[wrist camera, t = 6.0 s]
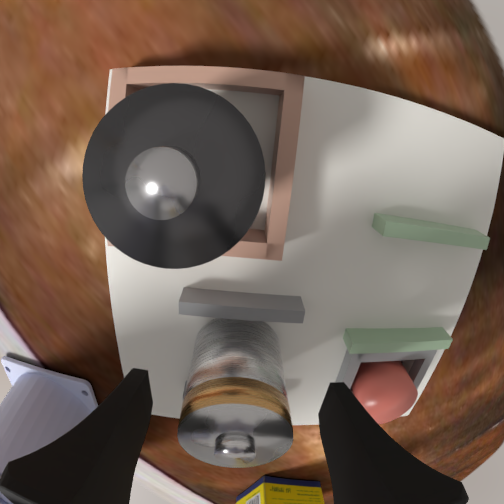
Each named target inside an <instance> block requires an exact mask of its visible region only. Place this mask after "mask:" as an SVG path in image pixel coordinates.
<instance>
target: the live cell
mask: <svg viewBox="0 0 504 504" xmlns="http://www.w3.org/2000/svg"><path fill="white" fill-rule="evenodd" d="M178 441H179V443H180V445H181V446H182V447H183V449H184V450H185V451H186V452H188V453H189V454H190V455H192V456H193V457H195V458H197V459H199V460H201V461H203V462H206V463H209V464H213V465H217V466H222V467H232V468H243V467H253V466H258V465H262V464H266V463H269V462H271V461H273V460H276V459H277V458H279V457H281V456H282V455H283V454H285V453H286V452H287V451H288V450H289V448H290V447H291V445H292V442H293V427H292V421H291V414H290V407H289V403H288V397H287V391H286V384H285V377H284V371H283V364H282V358H281V351H280V345H279V340H278V337H277V335H276V333H275V331H274V330H273V329H272V328H271V327H270V326H269V325H268V324H267V323H265V322H264V321H250V320H236V319H224V318H215V319H212V320H211V321H209V322H208V323H206V324H205V325H204V326H203V327H202V328H201V329H200V331H199V332H198V334H197V337H196V340H195V345H194V350H193V355H192V360H191V365H190V370H189V375H188V380H187V385H186V390H185V395H184V400H183V403H182V409H181V414H180V419H179V425H178Z"/></svg>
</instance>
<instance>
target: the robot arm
mask: <svg viewBox="0 0 504 504" xmlns="http://www.w3.org/2000/svg"><path fill="white" fill-rule="evenodd" d="M1 362H2V365H3V367H4V369H5V371H6V373H7V376H8V378H9V380H10V382H11V384H12V388H11V389H10V391H9V392H8V394H7V395H6V397H5V398H4V400H3V401H2V403H1V404H0V504H129V500H130V493H131V487H132V481H133V476H134V471H135V468H136V464H137V461H138V458H139V455H140V451H141V448H142V445H143V442H144V439H145V436H146V433H147V430H148V426H149V422H150V417H151V412H152V407H153V399H152V393H151V387H150V381H149V374H148V370H144V369H137V368H133V369H131V370H130V372H129V373H128V374H127V375H126V376H125V378H124V379H123V380H122V381H121V382H120V383H119V385H118V386H117V387H116V388H115V389H114V390H113V391H112V392H111V393H110V394H109V395H108V397H107V398H106V399H105V400H104V401H103V402H102V403H101V404H100V405H99V406H98V404H97V401H96V398H95V395H94V392H93V389H92V386H91V384H90V383H89V382H88V381H86V380H84V379H80V378H76V377H72V376H68V375H65V374H61V373H57V372H54V371H50V370H47V369H43V368H40V367H37V366H34V365H30V364H27V363H24V362H21V361H18V360H15V359H12V358H10V357H7V356H3V358H2V359H1ZM318 417H319V427H320V435H321V440H322V444H323V448H324V452H325V456H326V460H327V464H328V468H329V472H330V476H331V482H332V488H333V497H334V504H466V503H467V502H468V499H469V498H468V495H467V493H466V491H465V488H464V486H463V484H462V482H459V481H457V480H455V479H453V478H450V477H448V476H446V475H444V474H442V473H440V472H438V471H436V470H434V469H432V468H431V467H429V466H427V465H426V464H424V463H423V462H421V461H420V460H418V459H417V458H415V457H414V456H413V455H411V454H410V453H409V452H407V451H406V450H405V449H404V448H402V447H401V446H400V445H399V444H398V443H397V442H395V441H394V440H393V439H392V438H391V437H390V436H389V435H388V434H387V433H386V432H385V431H384V430H383V429H382V428H381V427H380V426H379V424H378V423H377V422H376V421H375V420H374V419H373V418H372V417H371V415H370V414H369V413H368V412H367V411H366V409H365V408H364V407H363V406H362V404H361V403H360V402H359V401H358V399H357V398H356V397H355V396H354V394H353V393H352V392H351V390H350V389H349V388H348V387H347V385H346V384H345V383H344V382H331V383H330V384H329V386H328V389H327V392H326V395H325V397H324V400H323V403H322V405H321V408H320V410H319V413H318Z"/></svg>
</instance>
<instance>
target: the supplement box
mask: <svg viewBox="0 0 504 504" xmlns="http://www.w3.org/2000/svg"><path fill="white" fill-rule="evenodd" d="M236 504H324V500H323V495H322V489H321V484H320V481H304V480H293V479H284V478H276V477H269V476H263V477H262V478H260V479H259V480H258V481H257V482H255V483H254V484H253V485H252V486H250V487H249V488H248V489H246V490H245V491H244V492H243V493H241V494H240V495H239V496H237V498H236Z"/></svg>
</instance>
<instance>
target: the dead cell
mask: <svg viewBox="0 0 504 504" xmlns="http://www.w3.org/2000/svg"><path fill="white" fill-rule="evenodd" d="M265 175H266V174H265V163H264V157H263V153H262V149H261V146H260V143H259V141H258V138H257V136H256V134H255V132H254V130H253V129H252V127H251V125H250V124H249V122H248V121H247V120H246V118H245V117H244V116H243V114H242V113H241V112H240V111H239V110H238V109H237V108H236V107H235V106H234V105H232V104H231V103H230V102H228V101H227V100H226V99H224V98H223V97H221V96H219V95H218V94H216V93H214V92H212V91H210V90H207V89H204V88H202V87H199V86H194V85H189V84H181V83H168V84H159V85H154V86H150V87H147V88H144V89H141V90H138V91H136V92H134V93H132V94H131V95H129V96H127V97H125V98H124V99H123V100H121V101H120V102H118V103H117V104H116V105H115V106H114V107H113V108H111V109H110V110H109V111H108V112H107V114H106V115H105V116H104V117H103V118H102V120H101V121H100V122H99V124H98V125H97V127H96V129H95V130H94V132H93V134H92V136H91V139H90V141H89V143H88V146H87V150H86V153H85V158H84V163H83V189H84V194H85V199H86V203H87V206H88V209H89V211H90V214H91V216H92V218H93V220H94V222H95V223H96V225H97V227H98V228H99V230H100V231H101V232H102V234H103V235H104V236H105V237H106V239H107V240H108V241H109V242H110V243H111V244H112V245H113V246H115V247H116V248H117V249H118V250H120V251H121V252H122V253H124V254H125V255H127V256H129V257H130V258H132V259H134V260H136V261H139V262H141V263H143V264H147V265H150V266H153V267H159V268H165V269H182V268H190V267H195V266H199V265H202V264H205V263H208V262H210V261H212V260H214V259H216V258H218V257H220V256H222V255H223V254H225V253H226V252H227V251H229V250H230V249H231V248H233V247H234V246H235V245H236V244H237V243H238V242H239V241H240V240H241V239H242V238H243V236H244V235H245V234H246V233H247V232H248V230H249V228H250V227H251V225H252V224H253V222H254V220H255V218H256V216H257V214H258V212H259V209H260V206H261V203H262V200H263V195H264V189H265Z"/></svg>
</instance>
